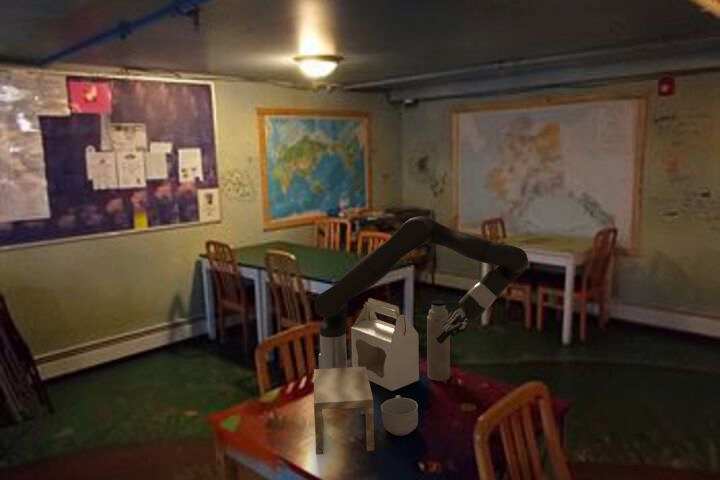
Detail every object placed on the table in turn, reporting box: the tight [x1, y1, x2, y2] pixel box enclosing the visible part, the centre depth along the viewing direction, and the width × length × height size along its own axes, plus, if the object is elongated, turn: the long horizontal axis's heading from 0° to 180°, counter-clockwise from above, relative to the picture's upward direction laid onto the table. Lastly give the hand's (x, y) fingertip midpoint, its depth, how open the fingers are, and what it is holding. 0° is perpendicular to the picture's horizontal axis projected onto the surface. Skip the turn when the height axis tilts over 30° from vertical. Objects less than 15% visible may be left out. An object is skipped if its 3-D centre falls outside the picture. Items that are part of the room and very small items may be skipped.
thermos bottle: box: [426, 299, 451, 382], centre depth 198 cm, size 8×8×28 cm
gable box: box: [350, 297, 420, 392], centre depth 200 cm, size 22×13×28 cm, turn 40°
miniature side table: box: [313, 366, 375, 455], centre depth 163 cm, size 16×23×15 cm
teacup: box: [380, 394, 419, 437], centre depth 165 cm, size 14×11×8 cm
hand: (437, 341), depth 169 cm, fingers closed
